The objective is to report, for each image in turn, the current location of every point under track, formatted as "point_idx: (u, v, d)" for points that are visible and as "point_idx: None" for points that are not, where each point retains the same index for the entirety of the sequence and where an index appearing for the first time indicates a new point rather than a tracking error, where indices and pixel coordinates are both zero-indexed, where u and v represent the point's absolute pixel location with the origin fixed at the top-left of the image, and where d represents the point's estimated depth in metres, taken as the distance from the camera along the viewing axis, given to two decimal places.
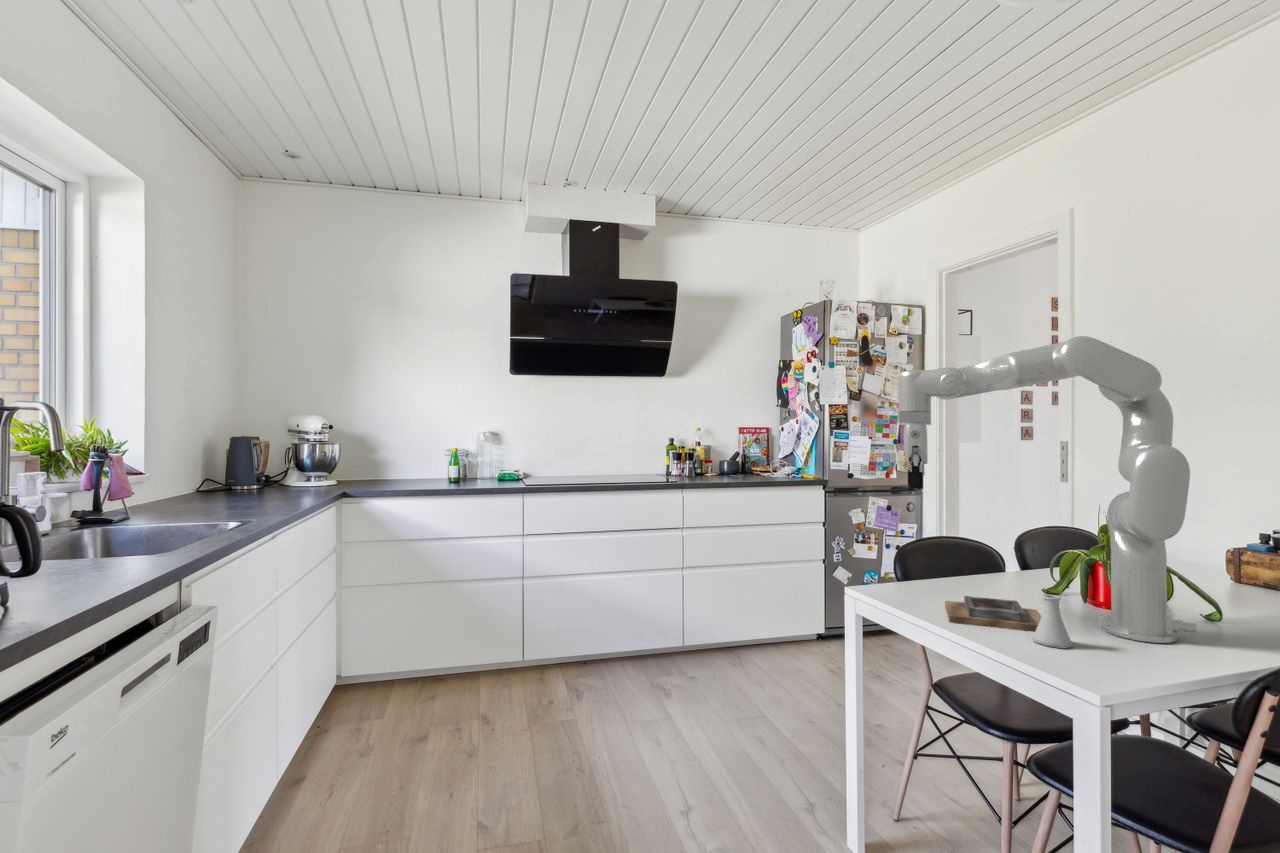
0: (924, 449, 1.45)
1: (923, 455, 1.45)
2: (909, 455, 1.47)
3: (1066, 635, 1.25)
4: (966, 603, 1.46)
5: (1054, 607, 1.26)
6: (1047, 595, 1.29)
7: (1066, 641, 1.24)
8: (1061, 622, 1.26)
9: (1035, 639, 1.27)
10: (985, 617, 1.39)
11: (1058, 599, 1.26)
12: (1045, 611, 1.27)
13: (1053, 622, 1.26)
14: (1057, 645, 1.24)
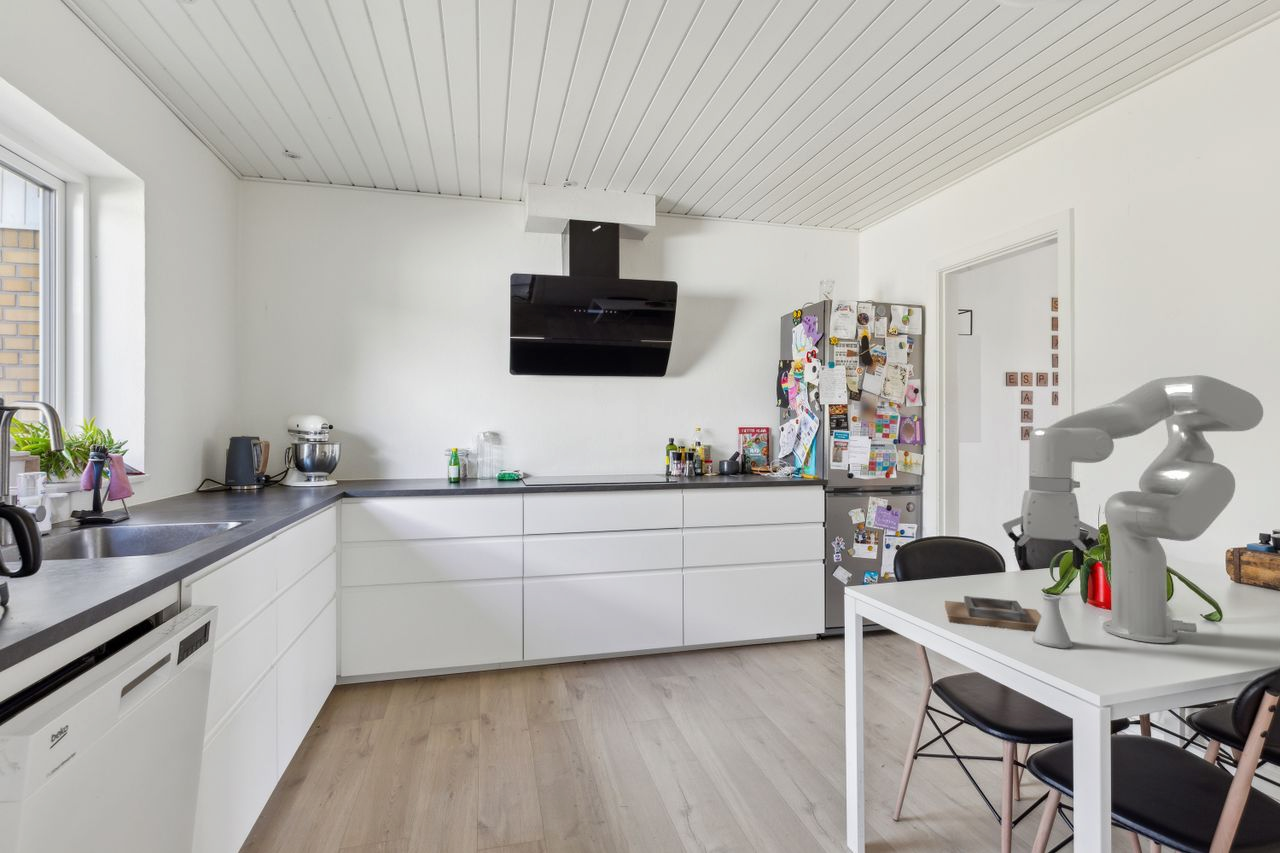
0: None
1: None
2: (1079, 530, 1.24)
3: (1066, 635, 1.25)
4: (966, 603, 1.46)
5: (1054, 607, 1.26)
6: (1047, 595, 1.29)
7: (1066, 641, 1.24)
8: (1061, 622, 1.26)
9: (1035, 639, 1.27)
10: (985, 617, 1.39)
11: (1058, 599, 1.26)
12: (1045, 611, 1.27)
13: (1053, 622, 1.26)
14: (1057, 645, 1.24)
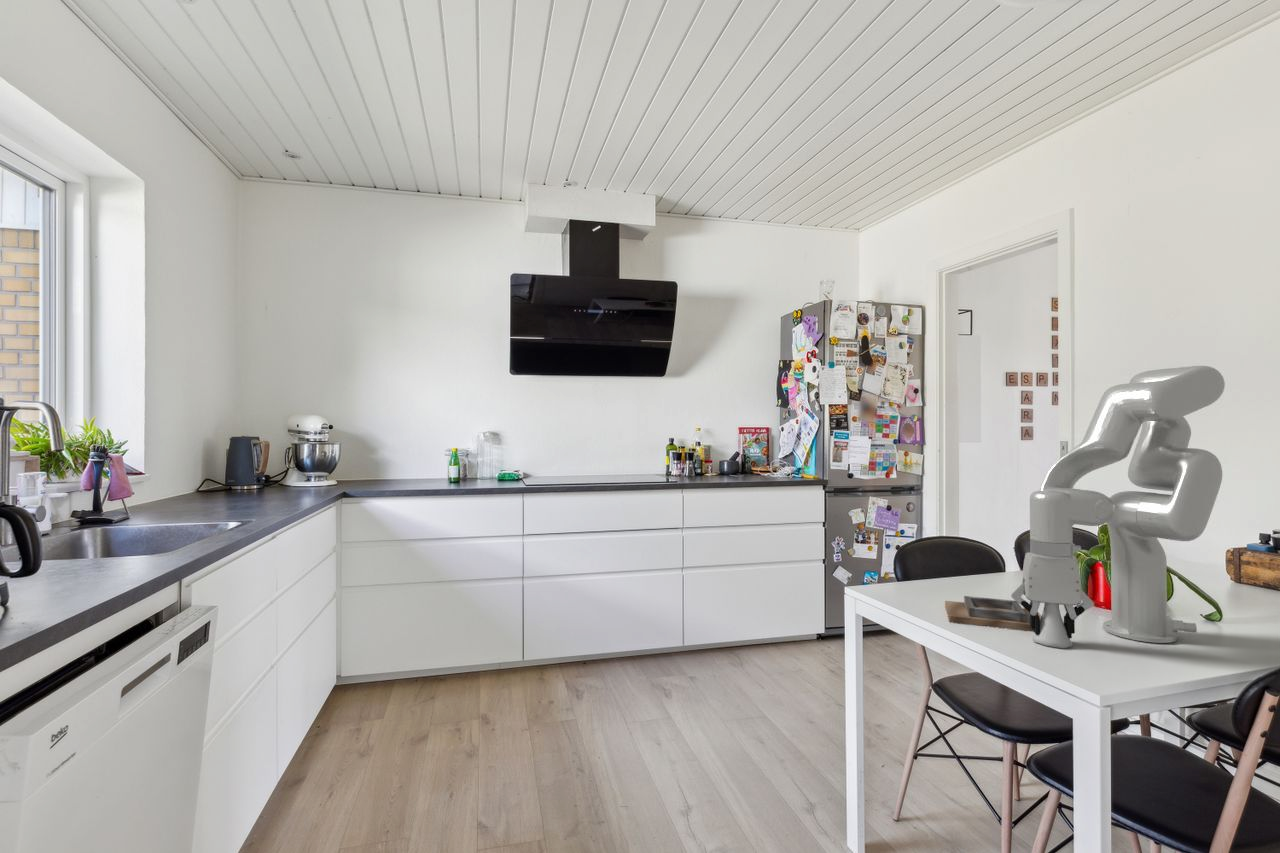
0: None
1: None
2: None
3: (1066, 635, 1.25)
4: (966, 603, 1.46)
5: (1054, 606, 1.26)
6: None
7: (1066, 641, 1.24)
8: (1061, 622, 1.26)
9: (1035, 639, 1.27)
10: (985, 617, 1.39)
11: None
12: (1045, 611, 1.27)
13: (1053, 622, 1.26)
14: (1057, 645, 1.24)
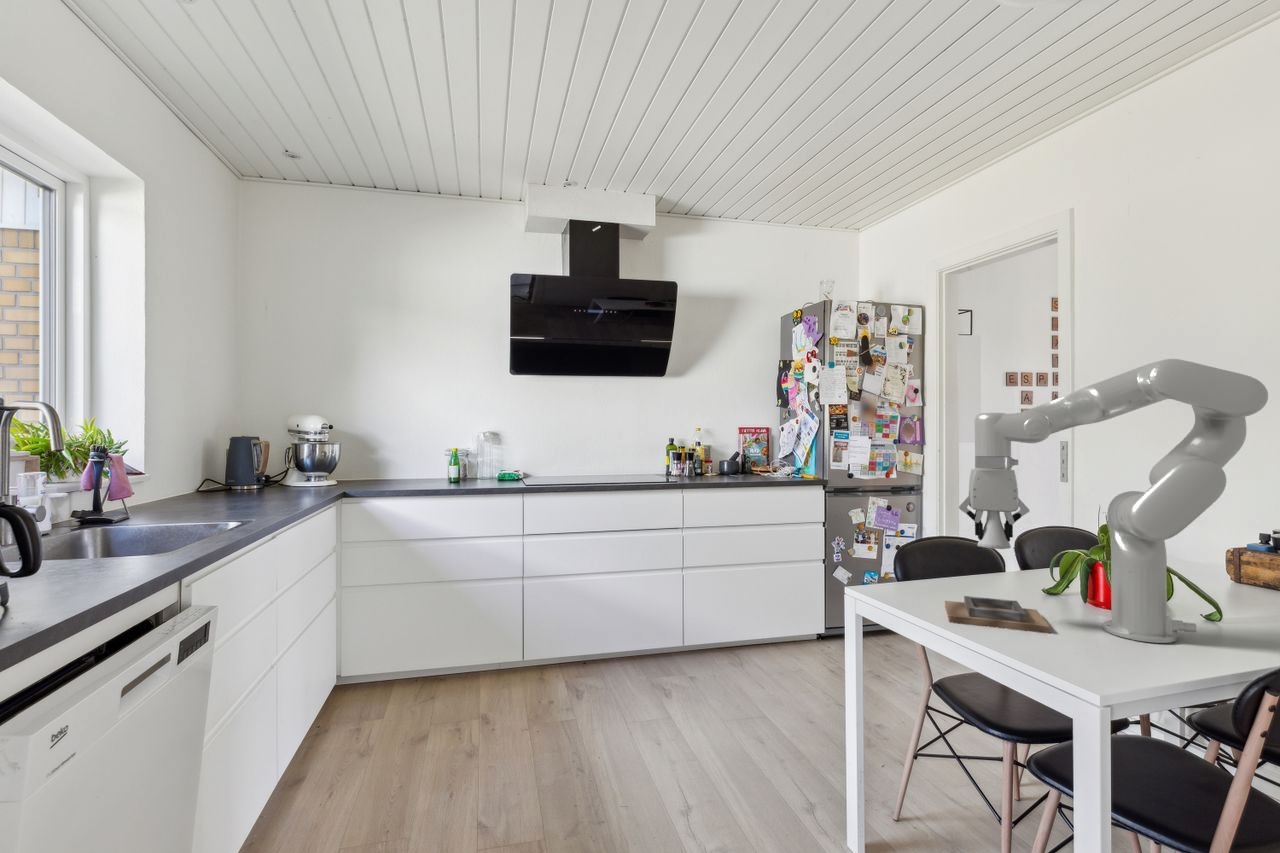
0: None
1: None
2: None
3: (1005, 538, 1.41)
4: (966, 603, 1.46)
5: (995, 514, 1.42)
6: None
7: (1005, 543, 1.41)
8: (1001, 527, 1.42)
9: (979, 543, 1.44)
10: (985, 617, 1.39)
11: None
12: (987, 518, 1.43)
13: (994, 528, 1.42)
14: (997, 546, 1.40)
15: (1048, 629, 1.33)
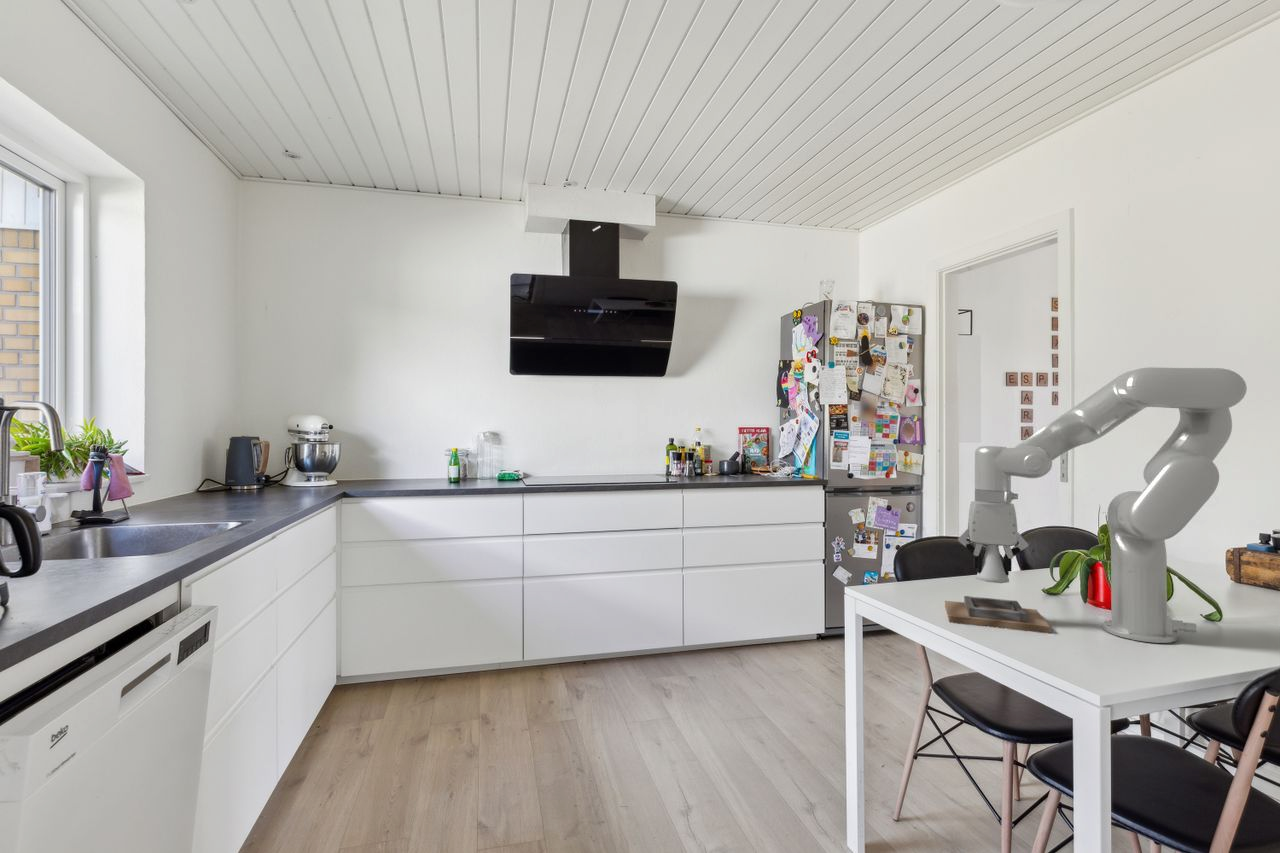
0: None
1: None
2: None
3: (1004, 572, 1.41)
4: (966, 603, 1.46)
5: (994, 547, 1.43)
6: None
7: (1004, 578, 1.41)
8: (1000, 561, 1.42)
9: (977, 576, 1.44)
10: (985, 617, 1.39)
11: None
12: (986, 552, 1.44)
13: (993, 561, 1.42)
14: (995, 580, 1.41)
15: (1048, 629, 1.33)
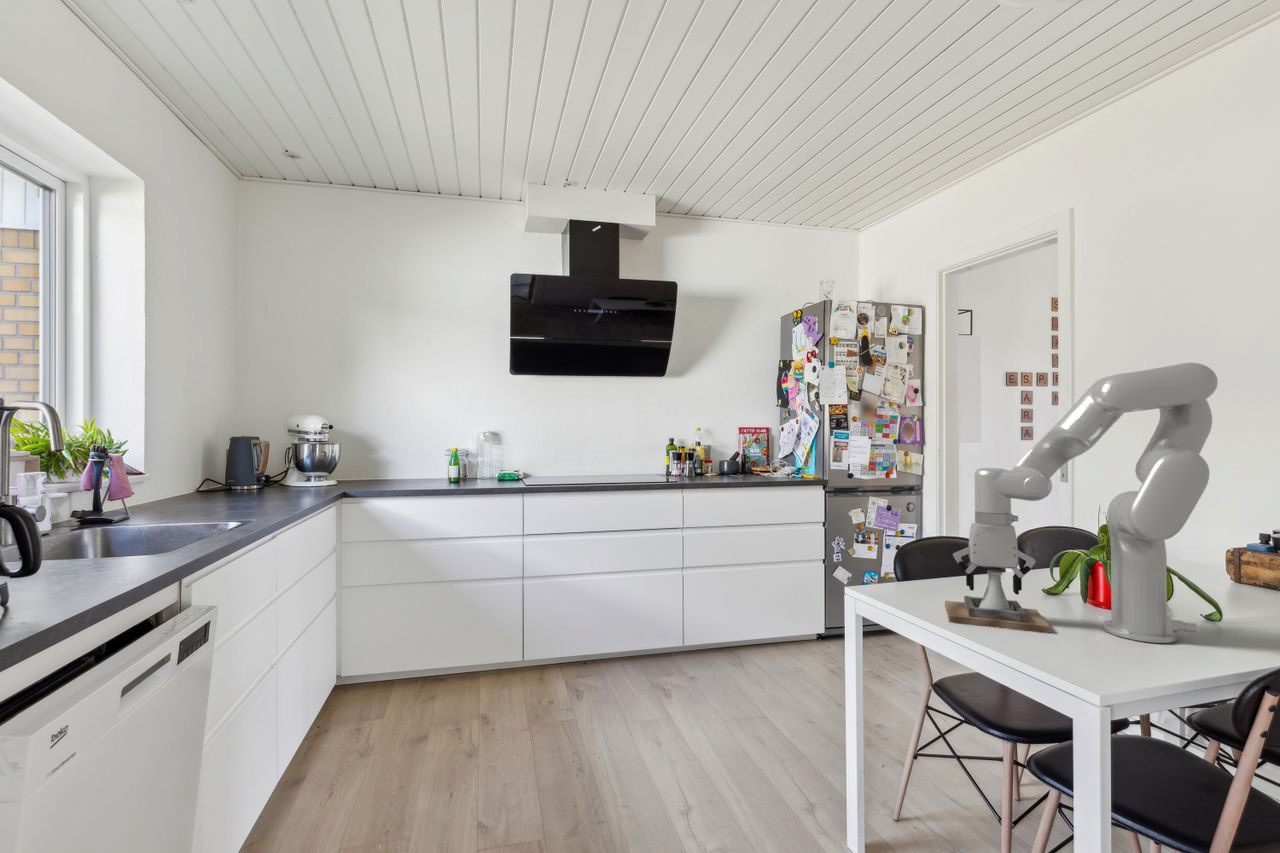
0: None
1: None
2: None
3: (1006, 605, 1.41)
4: (966, 603, 1.46)
5: (996, 580, 1.42)
6: (991, 570, 1.45)
7: None
8: (1002, 594, 1.42)
9: None
10: (985, 617, 1.39)
11: (1000, 573, 1.42)
12: (989, 584, 1.43)
13: (995, 594, 1.42)
14: None
15: (1048, 629, 1.33)
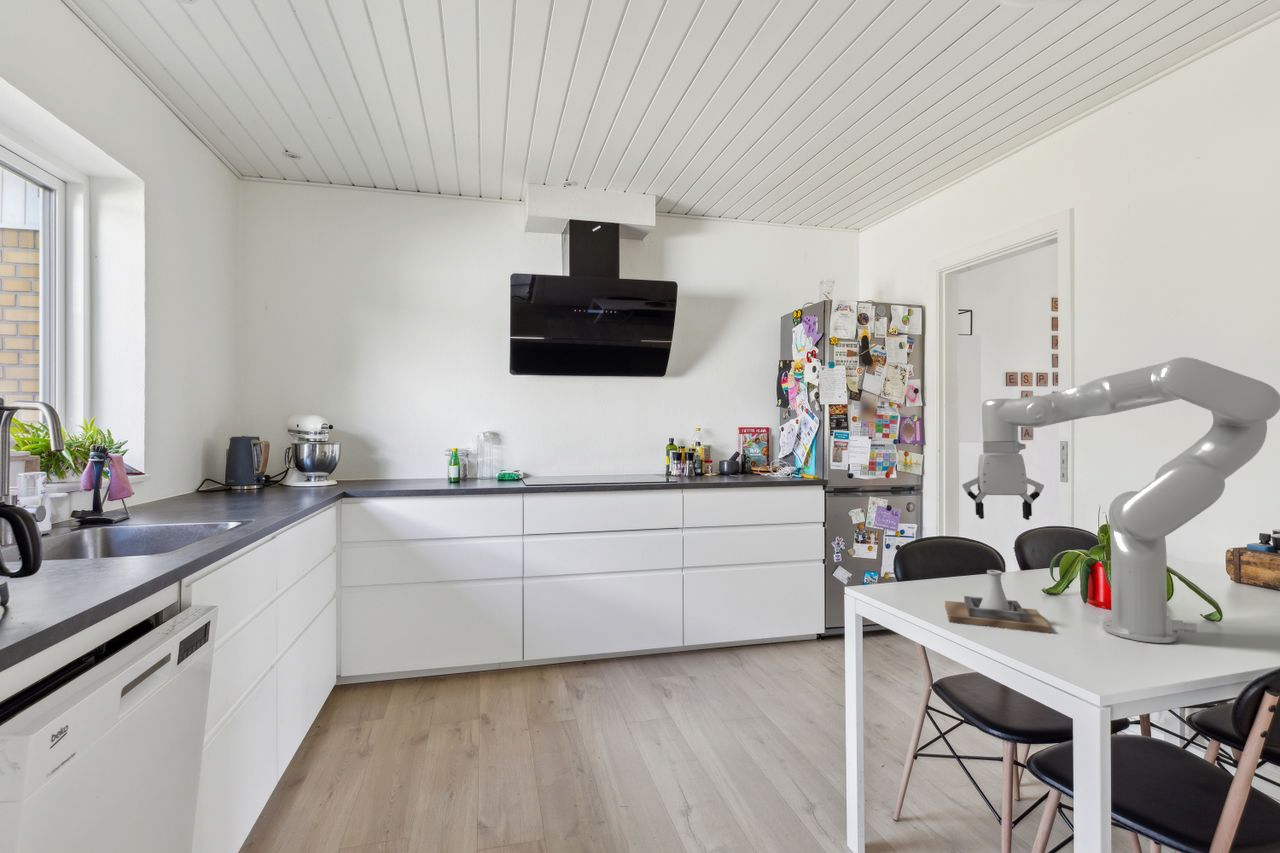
0: None
1: None
2: None
3: (1006, 605, 1.41)
4: (966, 603, 1.46)
5: (996, 580, 1.42)
6: (991, 570, 1.45)
7: None
8: (1002, 594, 1.42)
9: None
10: (985, 617, 1.39)
11: (1000, 573, 1.42)
12: (989, 584, 1.43)
13: (995, 594, 1.42)
14: None
15: (1048, 629, 1.33)
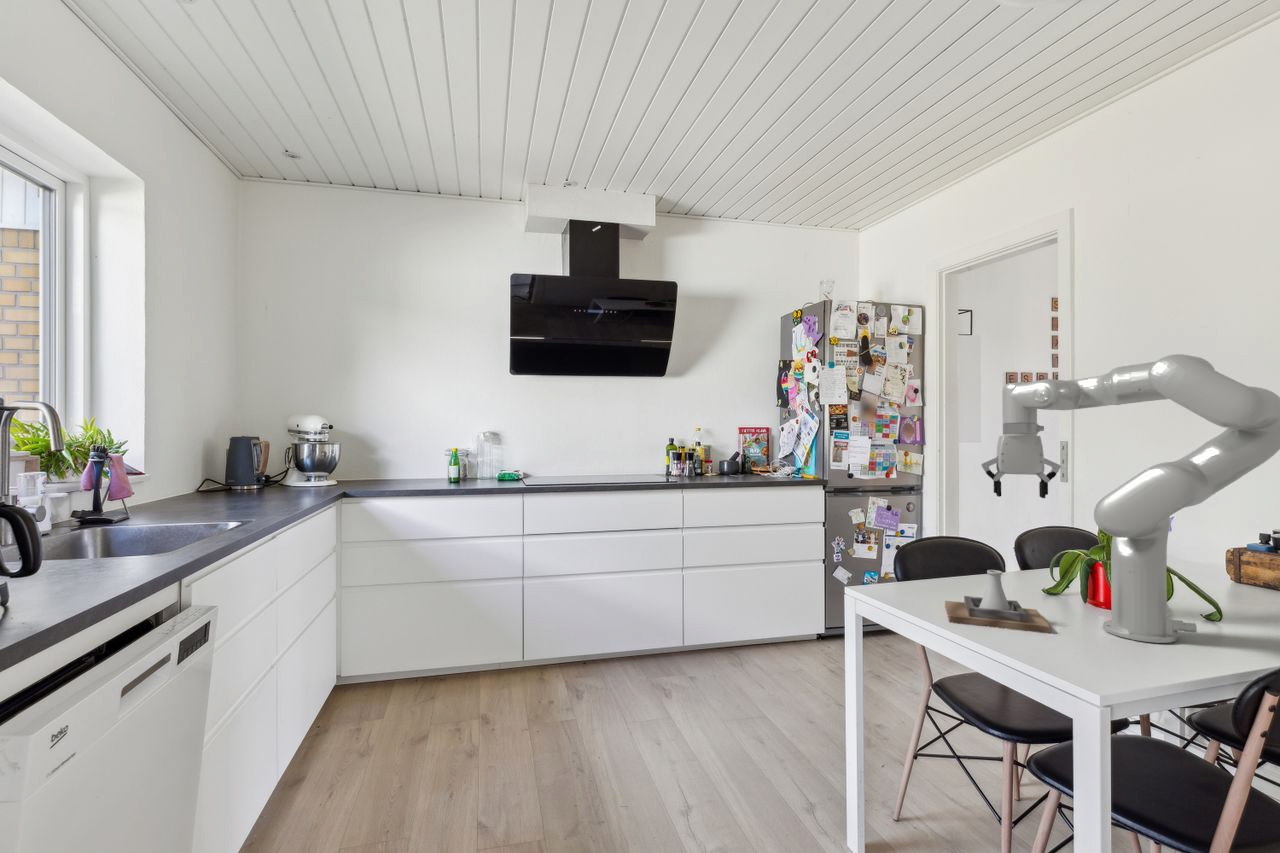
0: None
1: None
2: None
3: (1006, 605, 1.41)
4: (966, 603, 1.46)
5: (996, 580, 1.42)
6: (991, 570, 1.45)
7: None
8: (1002, 594, 1.42)
9: None
10: (985, 617, 1.39)
11: (1000, 573, 1.42)
12: (989, 584, 1.43)
13: (995, 594, 1.42)
14: None
15: (1048, 629, 1.33)
